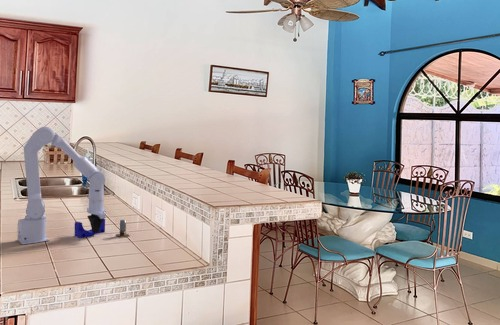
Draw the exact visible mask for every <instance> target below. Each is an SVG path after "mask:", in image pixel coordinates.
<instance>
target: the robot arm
mask: <svg viewBox="0 0 500 325" xmlns="http://www.w3.org/2000/svg"><path fill="white" fill-rule="evenodd" d="M49 144H51V146H54V147H57V148H59V149H60V150H61V151H62V152H64V153H65V154H66V155H67V157H69V158H70V159H72V161H73V162H74V163H73V167H74V168H75V169H77V171H79V173H81V174H82V176H83V177H85V178H87V179H88V181H89V188H88V207H86V213H88V215H87V219H88V221H89V224H90V227H91V229H92V232H93V233H99V230H100V226H101V223H102V221H103V219H106V216H107V214H106V212H107V209H105V208H104V199H105V196H104V195H105V194H104V192H105V191H104V190H105V189H104V185H105V182H106V178H105V175H104V174H103V172H102V171H101V170H100V168H99V167H98V166H95V164H93V162H92V160H91V158H90V157H87V156H85V155H84V156H83V155H80V154H79V153H78V152H77V151H76V150H75V149H74V147H72V146H71V145H70V144H69V143H68V142H67V141H66V139H64V138H63V136H61V135H59V134H58V133H57V132H54V130H53V129H52V128H50V127H49V126H41V127H39V128H38V129H36V130H35V131H34V132H33V133H32V135H30V137H29V139H28V140H27V141H26V144H24V146H23V156H24V157H23V158H24V168H25V180H26V189H27V190H26V191H27V204H26V209H25V214H26V215H24V218H21V219H18V220H17V239H16V240H17V241H18V242H19V243H20V244H21V245H28V244H36V243H42V242H49V241H50V239H49V238H48V237H47V215H46V214H45V212H46V208H45V207H46V204H45V202H44V200H43V198H42V188H41V178H40V166H39V155H38V152H39V151H41V149H43V147H45V146H46V145H49ZM89 214H90V215H89ZM99 234H100V233H99Z"/></svg>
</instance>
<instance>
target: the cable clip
mask: <svg viewBox="0 0 500 325" xmlns="http://www.w3.org/2000/svg"><path fill="white" fill-rule="evenodd" d="M103 233H106V218H104V219H103V221H102V223H101V226H100V230H99V233H93V232H92V228H91V229H89V230H87V229H85V227H83V222H81V221H74V237H75V236H76V238H79V239H84V237H85V238H89V237H95V235H99V234H103Z"/></svg>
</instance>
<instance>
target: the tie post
mask: <svg viewBox="0 0 500 325" xmlns="http://www.w3.org/2000/svg"><path fill="white" fill-rule="evenodd" d="M115 236H116V237H118V238H120V239H121V238H128V237H130V234H129V233H127V220H126V219H120V221H119V233H115Z"/></svg>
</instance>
